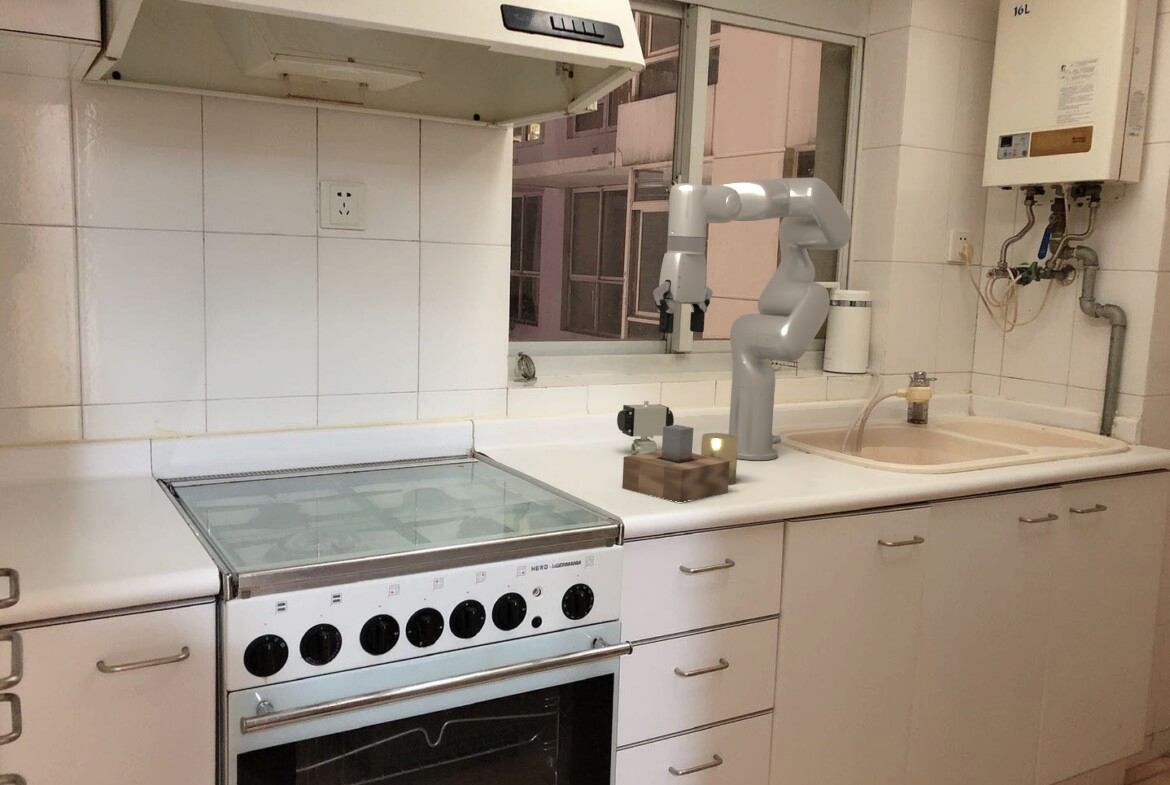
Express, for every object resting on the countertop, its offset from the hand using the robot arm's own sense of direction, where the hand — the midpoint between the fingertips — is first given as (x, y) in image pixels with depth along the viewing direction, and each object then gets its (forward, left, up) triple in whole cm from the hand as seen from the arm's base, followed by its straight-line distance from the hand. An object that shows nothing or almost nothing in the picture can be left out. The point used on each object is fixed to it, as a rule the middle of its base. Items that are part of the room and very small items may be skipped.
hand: (681, 332), depth 198 cm
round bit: (+1, +12, -28) cm, 31 cm away
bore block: (+14, +12, -28) cm, 34 cm away
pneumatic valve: (-6, -14, -28) cm, 32 cm away
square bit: (+14, +12, -28) cm, 34 cm away
